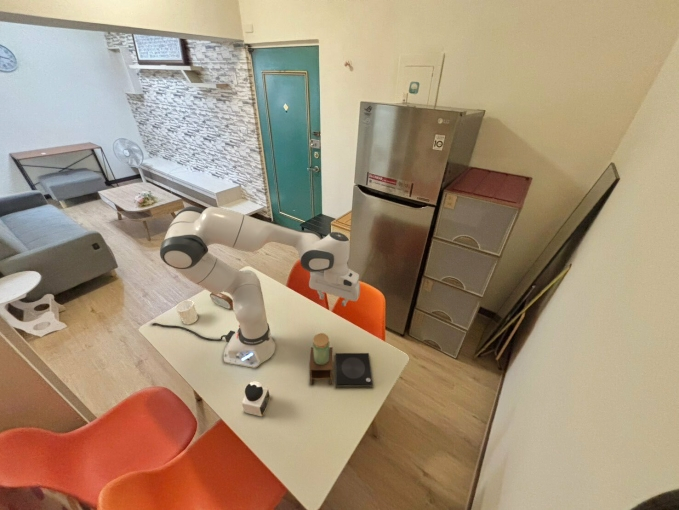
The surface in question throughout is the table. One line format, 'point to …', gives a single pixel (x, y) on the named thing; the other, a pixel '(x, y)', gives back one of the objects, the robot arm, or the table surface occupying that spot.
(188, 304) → the white cup
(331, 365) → the wooden cubby
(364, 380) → the hot plate
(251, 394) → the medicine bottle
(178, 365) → the table surface
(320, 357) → the jar
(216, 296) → the tin
